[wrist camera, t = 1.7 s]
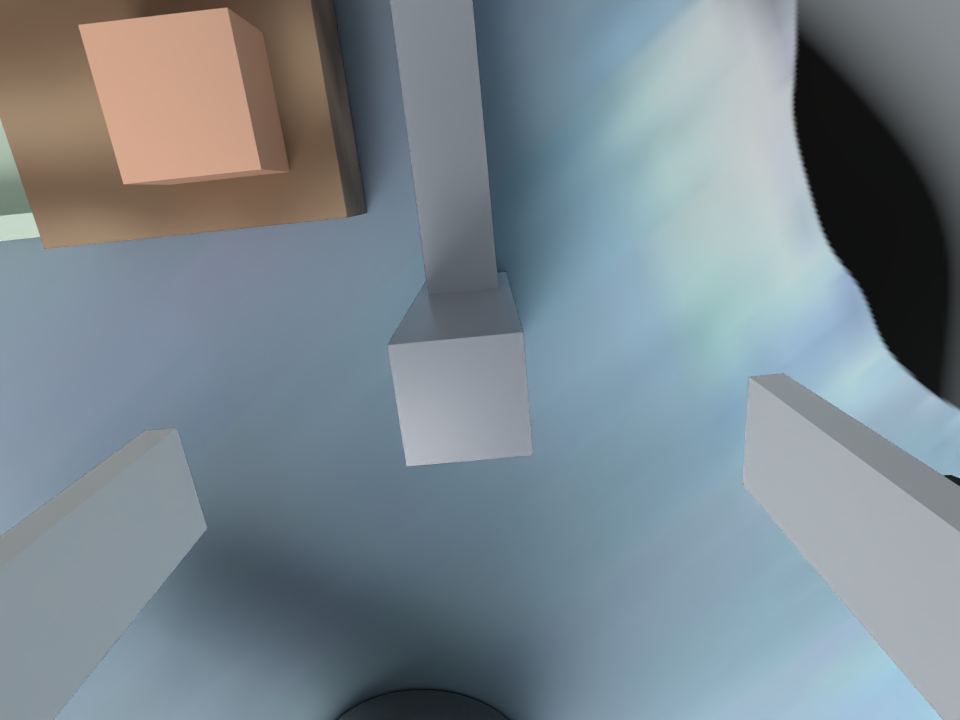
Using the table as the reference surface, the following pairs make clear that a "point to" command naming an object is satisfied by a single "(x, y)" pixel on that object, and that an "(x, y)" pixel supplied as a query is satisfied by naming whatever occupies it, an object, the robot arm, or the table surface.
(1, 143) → the tray
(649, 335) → the table surface
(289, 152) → the brown wooden board
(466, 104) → the scraper
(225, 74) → the tile
